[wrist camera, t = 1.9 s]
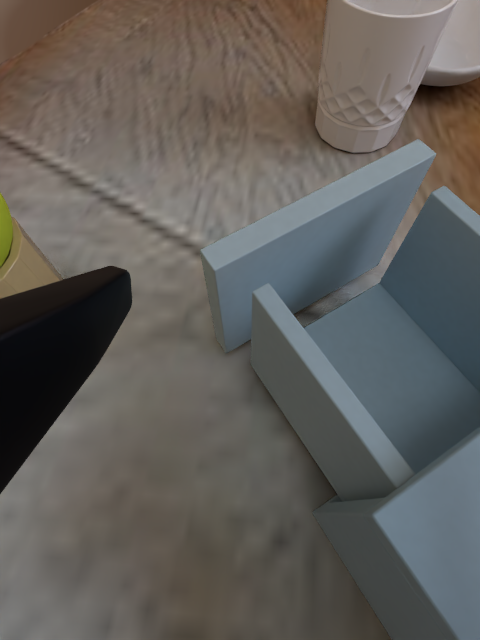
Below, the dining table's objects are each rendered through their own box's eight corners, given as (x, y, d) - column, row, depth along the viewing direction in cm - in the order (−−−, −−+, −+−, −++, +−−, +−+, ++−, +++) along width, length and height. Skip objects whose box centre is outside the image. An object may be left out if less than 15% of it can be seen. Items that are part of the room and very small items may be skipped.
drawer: (205, 322, 24) (184, 229, 16) (354, 240, 26) (400, 123, 18) (361, 564, 18) (449, 604, 10) (532, 429, 21) (709, 379, 13)
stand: (1, 375, 24) (-88, 326, 17) (-25, 302, 26) (-112, 236, 20) (90, 328, 25) (37, 267, 19) (58, 263, 27) (1, 189, 21)
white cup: (294, 143, 32) (311, -1, 23) (325, 86, 35) (352, -60, 26) (388, 170, 30) (447, 28, 21) (413, 109, 34) (473, -38, 25)
